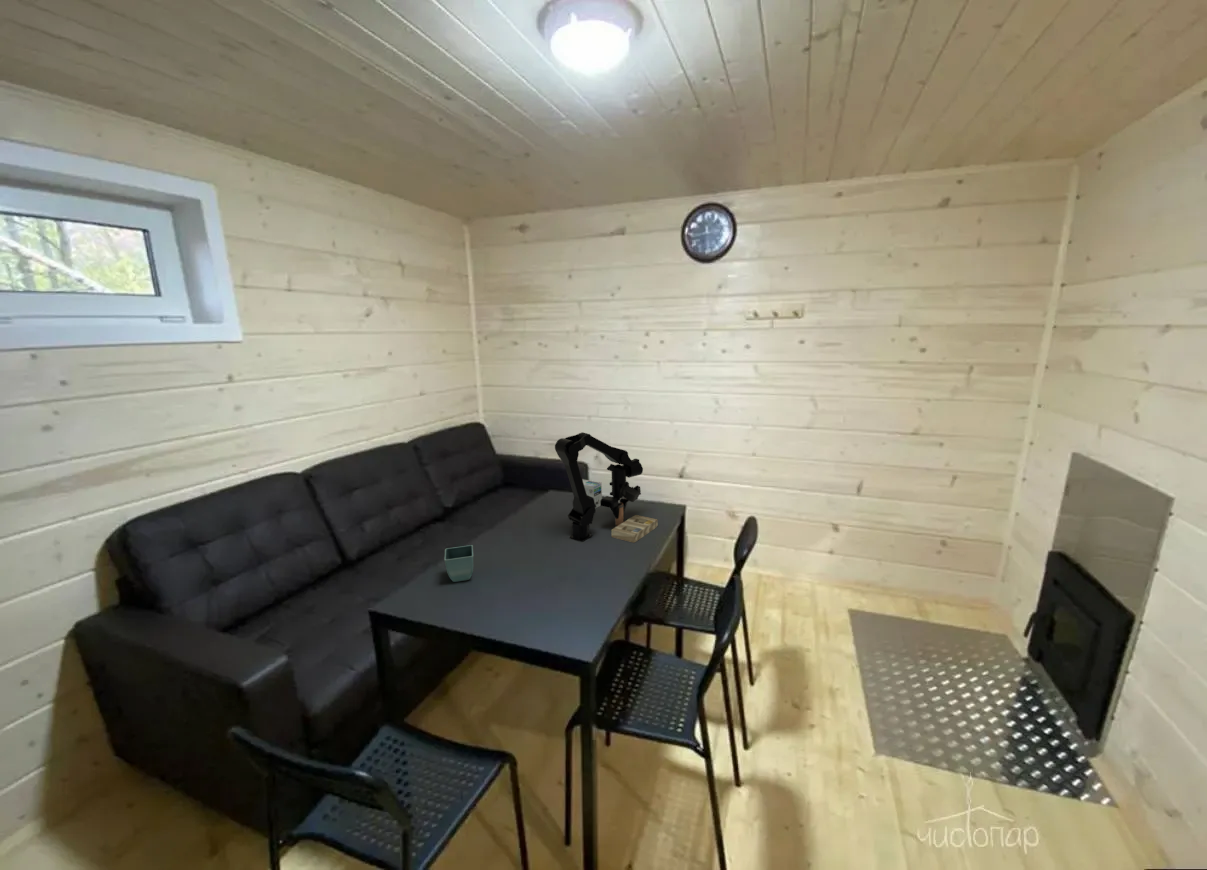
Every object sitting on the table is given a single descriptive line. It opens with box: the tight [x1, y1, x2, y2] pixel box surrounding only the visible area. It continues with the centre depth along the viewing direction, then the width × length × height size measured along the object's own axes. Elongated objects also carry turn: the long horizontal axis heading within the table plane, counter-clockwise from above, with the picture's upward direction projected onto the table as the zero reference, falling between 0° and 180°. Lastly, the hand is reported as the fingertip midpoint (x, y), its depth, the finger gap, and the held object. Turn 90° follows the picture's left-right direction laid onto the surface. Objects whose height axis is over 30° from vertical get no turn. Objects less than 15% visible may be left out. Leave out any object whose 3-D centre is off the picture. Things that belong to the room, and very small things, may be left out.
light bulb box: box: [582, 478, 603, 509], centre depth 226 cm, size 11×7×11 cm, turn 58°
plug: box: [615, 502, 625, 527], centre depth 204 cm, size 3×3×9 cm
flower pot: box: [443, 544, 474, 583], centre depth 163 cm, size 9×9×9 cm
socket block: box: [611, 514, 659, 544], centre depth 197 cm, size 18×10×3 cm, turn 146°
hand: (619, 517), depth 204 cm, fingers closed on plug, 3 cm apart
